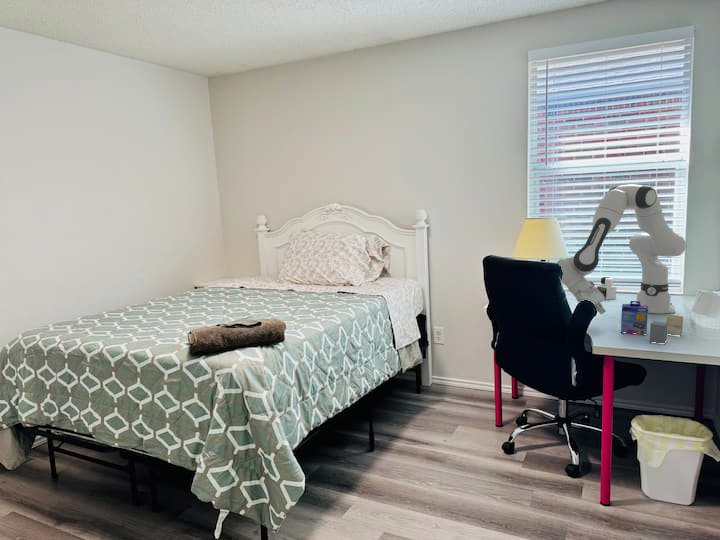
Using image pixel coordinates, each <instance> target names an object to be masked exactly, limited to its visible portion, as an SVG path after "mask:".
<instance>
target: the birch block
mask: <svg viewBox="0 0 720 540" xmlns="http://www.w3.org/2000/svg"><path fill="white" fill-rule="evenodd" d="M683 322H684V316H683V315H676V314H669V315H668V316H666V323H667V334H671V335H681V334H682V335H683V325H684V323H683ZM682 335H681V336H682Z"/></svg>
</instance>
